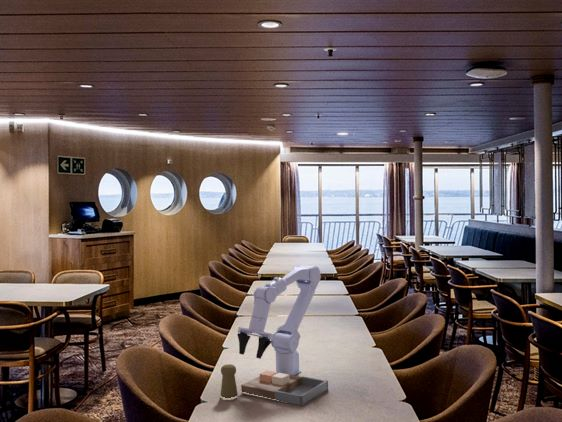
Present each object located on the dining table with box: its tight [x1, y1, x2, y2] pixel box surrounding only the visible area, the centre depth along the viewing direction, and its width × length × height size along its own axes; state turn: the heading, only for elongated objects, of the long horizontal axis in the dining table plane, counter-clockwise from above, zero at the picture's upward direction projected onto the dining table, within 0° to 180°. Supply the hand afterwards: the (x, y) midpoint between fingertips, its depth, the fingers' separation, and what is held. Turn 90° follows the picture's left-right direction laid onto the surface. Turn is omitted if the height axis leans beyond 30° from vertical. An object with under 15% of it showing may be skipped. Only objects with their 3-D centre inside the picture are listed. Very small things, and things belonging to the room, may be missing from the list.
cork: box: [220, 363, 239, 398], centre depth 189 cm, size 6×6×11 cm
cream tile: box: [272, 373, 290, 385], centre depth 194 cm, size 4×4×2 cm
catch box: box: [275, 376, 329, 407], centre depth 189 cm, size 18×10×3 cm, turn 147°
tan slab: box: [240, 375, 302, 399], centre depth 196 cm, size 18×14×3 cm
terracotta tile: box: [259, 370, 277, 383], centre depth 197 cm, size 4×4×2 cm
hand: (249, 356), depth 199 cm, fingers open, 7 cm apart
